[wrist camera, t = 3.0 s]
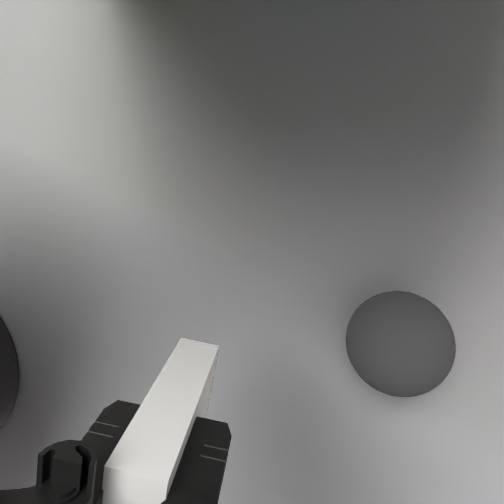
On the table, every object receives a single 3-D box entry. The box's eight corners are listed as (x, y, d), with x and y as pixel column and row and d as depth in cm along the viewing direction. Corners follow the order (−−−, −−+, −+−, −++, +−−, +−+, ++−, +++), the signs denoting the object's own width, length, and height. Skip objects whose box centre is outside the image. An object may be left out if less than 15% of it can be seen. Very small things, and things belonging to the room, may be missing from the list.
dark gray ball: (325, 299, 24) (336, 341, 19) (414, 263, 23) (451, 296, 18) (360, 375, 25) (379, 434, 20) (446, 343, 24) (490, 397, 19)
